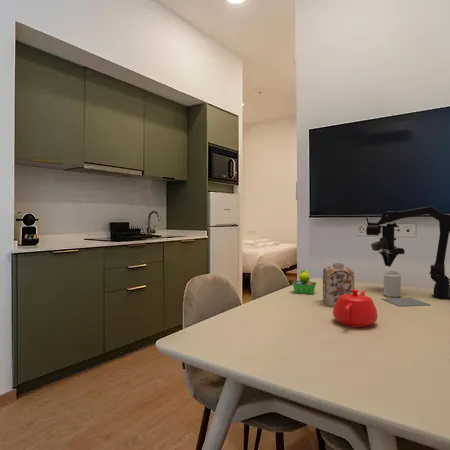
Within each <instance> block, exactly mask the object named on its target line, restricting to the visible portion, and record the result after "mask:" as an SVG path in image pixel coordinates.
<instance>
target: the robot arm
mask: <svg viewBox="0 0 450 450" xmlns="http://www.w3.org/2000/svg"><path fill="white" fill-rule="evenodd" d="M426 215H427V216H428V215H429V216H431V217H432V218H434V219H435V220H437V221H438V223H439V224H438V225H439V226H438V227H439V238H438V243H437V251H436V257H435V262H434V264H432V263H431V265H430V271H429V272H428V274H429V275H430V279H431V280H432V281H433V282H435V283H434V284H433V285H434V286H433V294H431V297H434V298H438V299H440V300H449V299H450V278H449V277H448V276H447V275H446V264H445V262H446V261H445V260H446V254H447V247H448V241H449V235H450V214H444V213H443V212H441V211H440V210H437V209H436V208H434V206H432V205H431V206H430V205H428V206H426V207H419V208H418V207H417V208H414V209H413V208H411V209H407V210H402V211H401V210H400V211H399V210H398V211H397V210H396V211H394V210H393V211H392V210H391V211H384V212H383V213H382V214H381V218H380V220H378V222H367V225H366V229H365V231H366V232H365V233H366V236H379V235H380V234H381V237H380V238H379V240H378V241H375V242H372V243H371V244H370V246H371V250H372V251H374V252H375V251H376V252H377V253H378V254H380V255H381V257H382V260H383V263H384V265H385V267H388V268H391V267H392V264H393V263H394V261H395V259H396V258H397V256H399V255H405V249H404V248H403V247H397V245H395V241H397V238H396V237H395V228H399V225H398V224H397V222H398V221H400V220H401V219H406V218H407V219H408V218H412V217H413V218H414V217H419V216H426ZM385 224H386V225H385Z"/></svg>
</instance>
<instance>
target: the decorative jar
mask: <svg viewBox="0 0 450 450" xmlns="http://www.w3.org/2000/svg"><path fill="white" fill-rule="evenodd" d="M352 289H355V273H354V270H353V269H352V268H351V267H348V266H345V264H344V263H343V262H333V263H332V265H331V266H330V265H329V266H325V267H324V268H323V270H322V300H323V302H324V303H325V304H326V306H327V307H334V306H335V303H336V302H337V299H338V298H339V296H340V295H343V294H353V292H352V291H351V290H352Z"/></svg>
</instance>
